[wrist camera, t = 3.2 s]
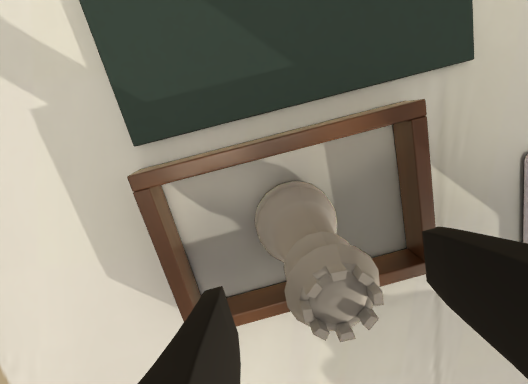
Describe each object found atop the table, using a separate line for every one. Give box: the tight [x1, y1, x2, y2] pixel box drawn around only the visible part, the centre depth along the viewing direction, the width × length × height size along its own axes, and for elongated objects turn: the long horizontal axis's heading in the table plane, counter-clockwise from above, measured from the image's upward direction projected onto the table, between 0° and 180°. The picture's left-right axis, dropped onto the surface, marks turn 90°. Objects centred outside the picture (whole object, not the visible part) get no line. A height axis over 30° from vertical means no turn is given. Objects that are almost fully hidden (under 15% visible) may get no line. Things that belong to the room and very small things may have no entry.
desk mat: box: [79, 0, 474, 146], centre depth 13 cm, size 18×7×1 cm, turn 104°
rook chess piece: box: [255, 181, 384, 342], centre depth 12 cm, size 4×4×8 cm
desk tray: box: [127, 99, 436, 326], centre depth 15 cm, size 15×10×2 cm, turn 104°
